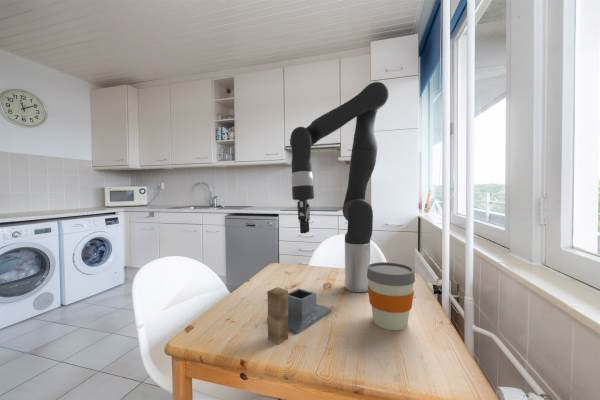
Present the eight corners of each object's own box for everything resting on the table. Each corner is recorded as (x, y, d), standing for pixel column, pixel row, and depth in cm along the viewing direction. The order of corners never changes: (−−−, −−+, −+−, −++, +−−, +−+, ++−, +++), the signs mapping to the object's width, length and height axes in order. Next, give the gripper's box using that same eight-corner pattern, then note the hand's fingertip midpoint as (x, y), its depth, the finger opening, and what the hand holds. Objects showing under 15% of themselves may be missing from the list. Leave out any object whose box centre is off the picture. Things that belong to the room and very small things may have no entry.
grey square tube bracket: (302, 302, 87) (302, 282, 87) (331, 311, 80) (331, 290, 80) (267, 321, 75) (266, 298, 75) (297, 334, 68) (297, 308, 68)
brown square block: (278, 333, 68) (277, 287, 68) (288, 338, 66) (287, 290, 65) (268, 339, 65) (267, 291, 65) (278, 344, 63) (277, 294, 63)
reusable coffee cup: (359, 325, 72) (359, 270, 72) (375, 308, 82) (375, 259, 82) (409, 339, 65) (409, 278, 64) (419, 318, 75) (419, 266, 75)
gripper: (311, 182, 86) (314, 233, 84) (314, 187, 100) (317, 231, 98) (288, 183, 86) (291, 234, 85) (294, 188, 100) (296, 232, 99)
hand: (305, 232), depth 92 cm, fingers open, 8 cm apart
